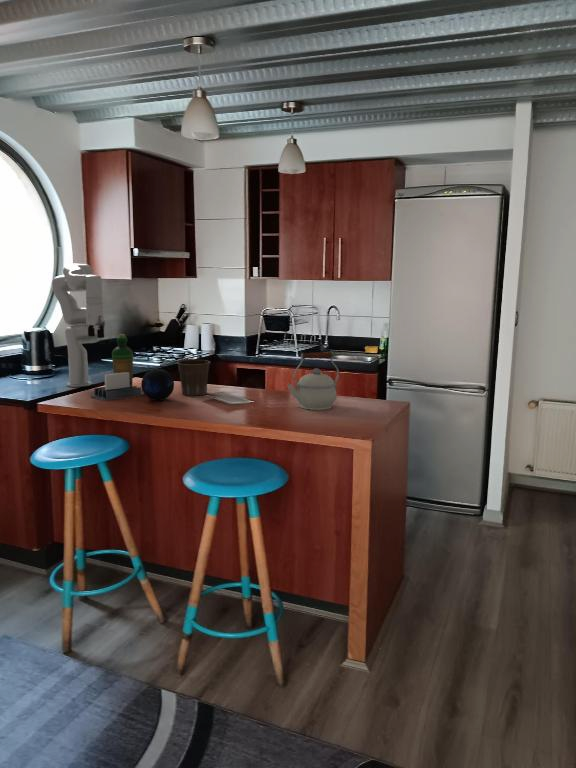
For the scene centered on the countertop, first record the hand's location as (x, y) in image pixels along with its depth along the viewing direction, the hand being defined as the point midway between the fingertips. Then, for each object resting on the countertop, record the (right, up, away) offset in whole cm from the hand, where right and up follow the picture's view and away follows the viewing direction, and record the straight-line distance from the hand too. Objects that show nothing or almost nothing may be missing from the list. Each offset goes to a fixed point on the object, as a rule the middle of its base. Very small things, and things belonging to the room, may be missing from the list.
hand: (96, 337), depth 304 cm
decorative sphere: (+32, -31, -8) cm, 45 cm away
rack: (+10, -29, +1) cm, 30 cm away
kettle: (+104, -34, -21) cm, 112 cm away
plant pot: (+47, -28, +8) cm, 55 cm away
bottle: (+8, -25, +21) cm, 34 cm away
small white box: (+10, -28, +1) cm, 29 cm away
